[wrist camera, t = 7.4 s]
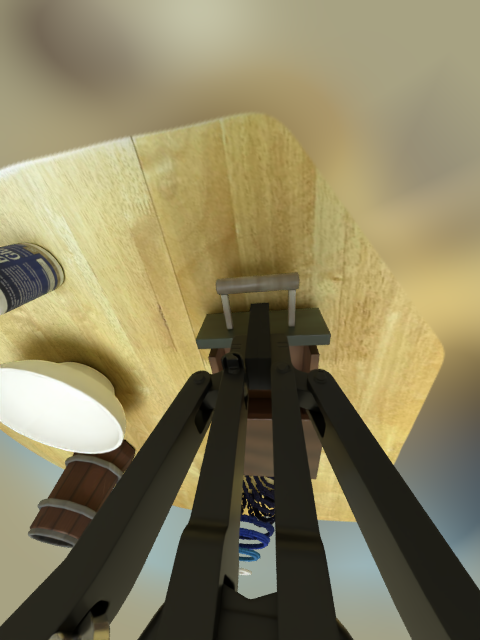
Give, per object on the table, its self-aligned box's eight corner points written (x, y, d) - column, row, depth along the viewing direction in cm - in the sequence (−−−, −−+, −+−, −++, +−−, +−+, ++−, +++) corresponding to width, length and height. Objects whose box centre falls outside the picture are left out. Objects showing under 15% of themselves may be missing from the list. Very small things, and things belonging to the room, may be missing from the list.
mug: (90, 425, 42) (16, 526, 29) (143, 447, 45) (98, 547, 33) (73, 450, 49) (8, 539, 37) (120, 468, 53) (75, 555, 40)
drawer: (196, 270, 21) (180, 289, 17) (323, 259, 19) (339, 277, 15) (226, 395, 31) (220, 425, 27) (309, 395, 29) (317, 427, 25)
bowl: (170, 397, 34) (151, 439, 29) (101, 424, 41) (75, 462, 36) (67, 310, 26) (12, 344, 20) (2, 361, 33) (-52, 397, 27)
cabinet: (219, 376, 30) (210, 418, 25) (314, 375, 28) (327, 420, 23) (233, 433, 39) (229, 474, 33) (308, 435, 37) (316, 479, 31)
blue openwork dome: (248, 499, 56) (244, 584, 44) (187, 474, 51) (163, 563, 39) (304, 481, 47) (318, 582, 35) (235, 447, 41) (224, 553, 29)
